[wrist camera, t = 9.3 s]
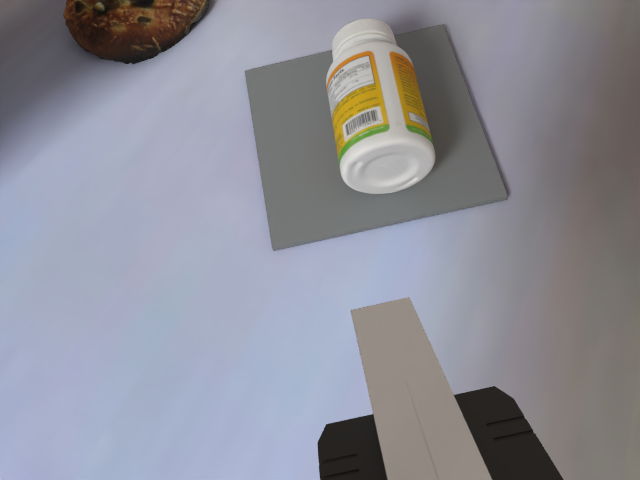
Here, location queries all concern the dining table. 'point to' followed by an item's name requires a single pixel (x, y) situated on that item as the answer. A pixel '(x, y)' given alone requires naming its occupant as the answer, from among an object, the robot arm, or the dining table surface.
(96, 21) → the bread roll
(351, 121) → the supplement bottle
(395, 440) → the robot arm
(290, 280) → the dining table surface
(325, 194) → the mat
